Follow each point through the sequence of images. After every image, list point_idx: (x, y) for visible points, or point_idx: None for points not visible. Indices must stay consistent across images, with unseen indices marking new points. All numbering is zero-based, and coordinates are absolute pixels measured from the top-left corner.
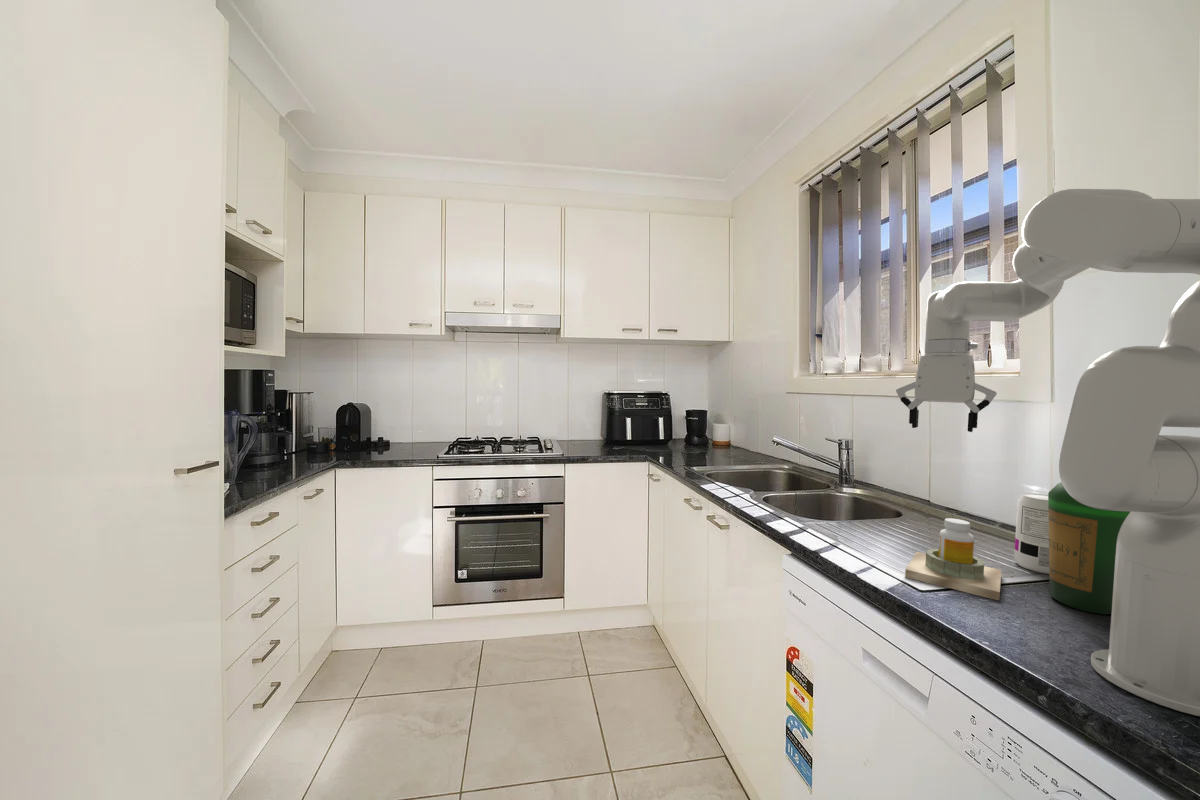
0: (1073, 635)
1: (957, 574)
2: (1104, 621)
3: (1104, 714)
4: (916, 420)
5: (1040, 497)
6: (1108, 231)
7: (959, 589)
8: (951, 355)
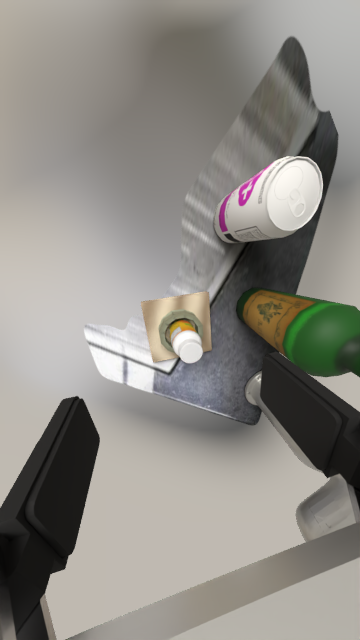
0: (241, 363)
1: None
2: None
3: (242, 421)
4: (89, 469)
5: (289, 195)
6: None
7: None
8: None
